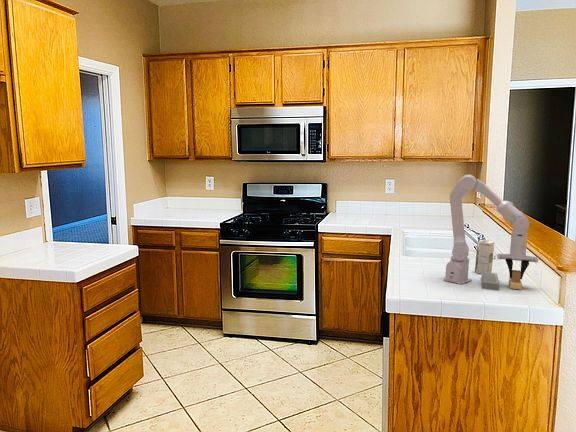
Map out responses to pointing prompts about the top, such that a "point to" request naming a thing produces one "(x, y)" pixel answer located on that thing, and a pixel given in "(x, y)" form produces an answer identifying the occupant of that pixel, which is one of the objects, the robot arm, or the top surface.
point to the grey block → (490, 281)
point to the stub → (515, 280)
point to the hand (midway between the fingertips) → (515, 278)
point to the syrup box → (484, 256)
